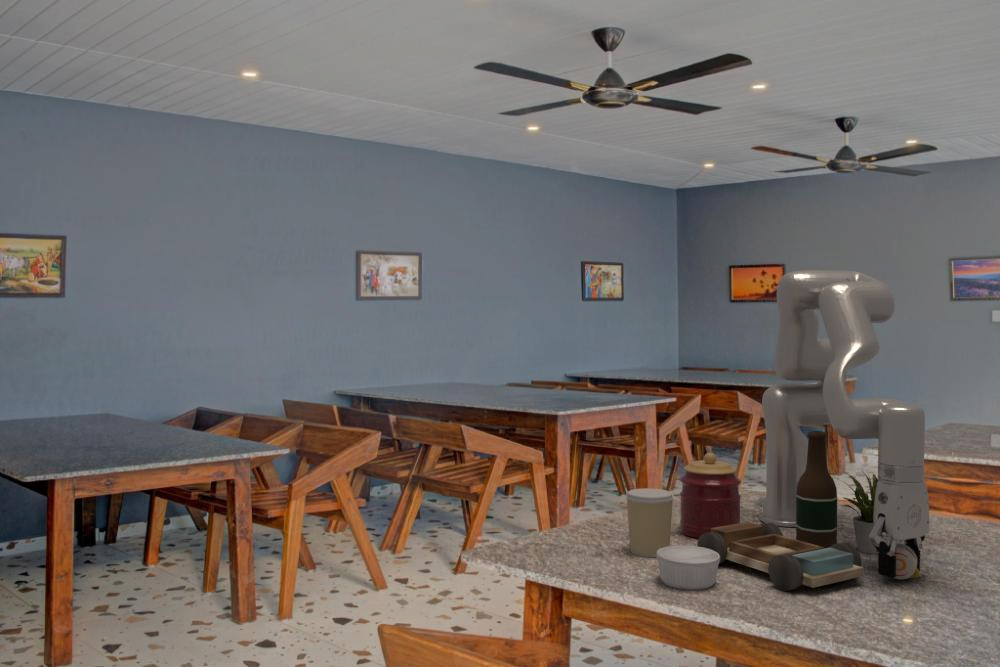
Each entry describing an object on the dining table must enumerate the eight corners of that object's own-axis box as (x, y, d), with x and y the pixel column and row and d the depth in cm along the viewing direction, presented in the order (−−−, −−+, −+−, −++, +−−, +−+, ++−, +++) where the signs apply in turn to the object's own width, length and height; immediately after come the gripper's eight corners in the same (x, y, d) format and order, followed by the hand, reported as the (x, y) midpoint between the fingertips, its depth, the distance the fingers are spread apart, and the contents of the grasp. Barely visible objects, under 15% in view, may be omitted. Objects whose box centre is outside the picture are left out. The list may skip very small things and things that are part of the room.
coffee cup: (678, 548, 180) (678, 490, 180) (666, 560, 171) (666, 499, 171) (633, 544, 184) (633, 486, 184) (620, 555, 175) (620, 495, 175)
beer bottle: (836, 546, 181) (836, 429, 181) (837, 556, 174) (838, 434, 173) (796, 543, 184) (796, 428, 183) (796, 553, 176) (796, 433, 176)
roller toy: (881, 570, 162) (882, 539, 162) (919, 575, 159) (920, 544, 159) (879, 577, 158) (879, 545, 158) (918, 583, 155) (918, 550, 155)
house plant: (927, 550, 178) (928, 469, 178) (903, 564, 168) (904, 479, 167) (856, 538, 188) (856, 461, 187) (829, 551, 178) (830, 470, 177)
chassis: (690, 558, 172) (690, 528, 172) (753, 547, 181) (753, 517, 181) (804, 598, 148) (804, 562, 148) (871, 582, 157) (871, 549, 157)
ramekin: (708, 596, 150) (708, 565, 150) (646, 585, 156) (646, 556, 156) (728, 579, 159) (728, 550, 159) (669, 570, 165) (669, 542, 165)
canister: (719, 524, 201) (719, 447, 200) (753, 538, 188) (753, 455, 188) (668, 529, 197) (668, 450, 196) (699, 543, 184) (699, 459, 184)
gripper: (887, 482, 150) (886, 587, 151) (949, 472, 159) (948, 571, 159) (850, 474, 156) (849, 575, 157) (912, 465, 165) (910, 560, 166)
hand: (899, 572), depth 158 cm, fingers closed on roller toy, 6 cm apart
